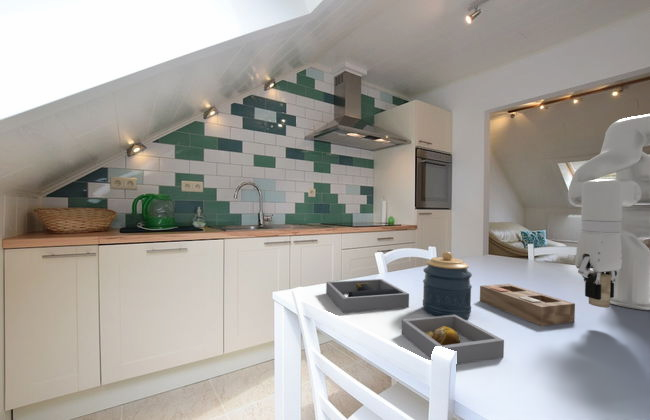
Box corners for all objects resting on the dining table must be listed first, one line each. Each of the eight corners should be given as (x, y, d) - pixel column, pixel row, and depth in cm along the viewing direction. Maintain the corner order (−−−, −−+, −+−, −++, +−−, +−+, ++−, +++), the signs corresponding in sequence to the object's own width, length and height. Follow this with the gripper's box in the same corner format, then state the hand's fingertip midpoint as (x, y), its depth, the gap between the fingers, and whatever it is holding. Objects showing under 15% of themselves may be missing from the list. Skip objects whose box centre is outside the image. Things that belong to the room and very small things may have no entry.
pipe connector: (340, 282, 92) (381, 280, 97) (340, 298, 93) (381, 295, 97) (354, 294, 81) (399, 290, 86) (353, 312, 82) (399, 307, 86)
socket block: (508, 298, 96) (508, 282, 96) (574, 321, 76) (575, 302, 76) (479, 300, 92) (480, 284, 92) (541, 326, 73) (541, 305, 73)
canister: (476, 312, 82) (478, 252, 82) (462, 325, 73) (464, 257, 72) (432, 301, 91) (434, 247, 91) (414, 311, 82) (416, 251, 81)
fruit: (419, 333, 68) (419, 318, 68) (456, 338, 66) (457, 322, 66) (422, 350, 60) (422, 333, 60) (464, 356, 58) (465, 338, 58)
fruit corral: (454, 328, 71) (454, 314, 71) (503, 357, 57) (503, 340, 57) (401, 334, 67) (401, 319, 67) (440, 367, 53) (441, 348, 53)
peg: (595, 301, 76) (595, 271, 76) (613, 306, 72) (614, 275, 72) (584, 302, 75) (585, 273, 75) (603, 308, 71) (603, 277, 71)
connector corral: (381, 289, 103) (381, 279, 103) (408, 307, 85) (409, 293, 85) (326, 293, 97) (326, 282, 97) (343, 312, 80) (343, 298, 80)
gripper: (605, 225, 79) (603, 289, 79) (561, 227, 74) (560, 295, 75) (641, 227, 72) (639, 298, 72) (595, 230, 67) (593, 305, 68)
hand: (599, 296), depth 73 cm, fingers closed on peg, 4 cm apart
